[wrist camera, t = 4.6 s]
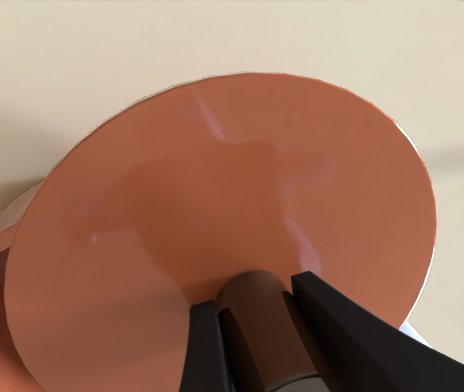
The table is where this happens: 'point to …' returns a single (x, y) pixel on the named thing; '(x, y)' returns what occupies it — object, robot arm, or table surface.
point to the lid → (217, 234)
